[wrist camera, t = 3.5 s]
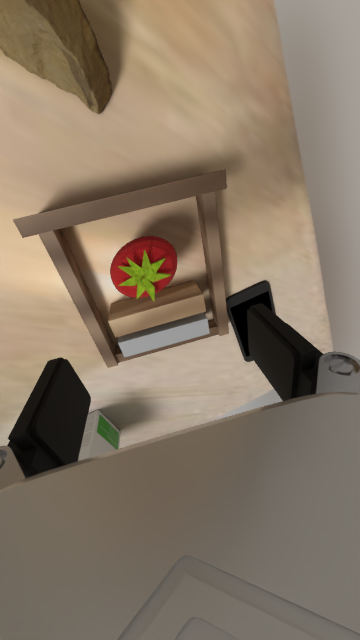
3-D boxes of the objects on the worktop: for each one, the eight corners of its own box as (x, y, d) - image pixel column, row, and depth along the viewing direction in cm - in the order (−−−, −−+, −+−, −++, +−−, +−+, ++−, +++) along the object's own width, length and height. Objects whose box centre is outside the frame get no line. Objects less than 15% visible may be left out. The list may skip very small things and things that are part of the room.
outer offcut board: (119, 323, 32) (118, 343, 28) (197, 302, 33) (207, 318, 29) (125, 336, 34) (124, 357, 29) (200, 316, 34) (209, 333, 30)
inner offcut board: (111, 303, 31) (107, 321, 26) (193, 280, 31) (203, 294, 27) (117, 318, 32) (115, 337, 28) (196, 295, 33) (206, 311, 28)
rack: (38, 213, 24) (12, 219, 19) (206, 173, 25) (225, 169, 20) (109, 357, 35) (105, 385, 30) (223, 325, 36) (238, 347, 31)
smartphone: (244, 362, 42) (246, 365, 41) (221, 298, 34) (224, 300, 33) (280, 345, 41) (283, 348, 41) (266, 277, 33) (269, 279, 33)
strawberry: (178, 259, 29) (198, 287, 21) (131, 288, 30) (131, 327, 21) (154, 217, 26) (166, 229, 18) (102, 251, 27) (89, 278, 18)
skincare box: (120, 430, 44) (116, 532, 31) (91, 443, 45) (74, 549, 31) (97, 407, 40) (80, 515, 27) (65, 422, 40) (32, 535, 27)
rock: (147, 83, 19) (64, -159, 12) (88, 99, 14) (-100, -290, 7) (70, 136, 24) (-14, -12, 18) (8, 161, 19) (-139, -31, 13)
